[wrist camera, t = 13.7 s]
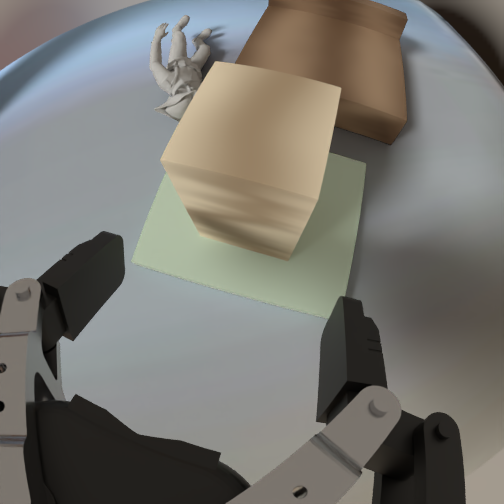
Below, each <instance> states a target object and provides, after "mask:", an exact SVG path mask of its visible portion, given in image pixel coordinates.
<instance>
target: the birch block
mask: <svg viewBox="0 0 504 504" xmlns="http://www.w3.org/2000/svg"><path fill="white" fill-rule="evenodd" d="M340 93H341V88H340V87H337V86H334V85H330V84H327V83H323V82H320V81H316V80H312V79H308V78H304V77H300V76H296V75H292V74H287V73H283V72H278V71H273V70H268V69H263V68H258V67H252V66H246V65H240V64H233V63H226V62H218V61H215V63H214V64H213V66H212V67H211V69H210V70H209V72H208V74H207V75H206V77H205V79H204V80H203V82H202V84H201V85H200V87H199V89H198V90H197V92H196V94H195V95H194V97H193V99H192V101H191V102H190V104H189V106H188V108H187V109H186V111H185V113H184V115H183V117H182V118H181V120H180V122H179V124H178V126H177V128H176V130H175V131H174V133H173V135H172V137H171V139H170V141H169V143H168V145H167V147H166V149H165V151H164V153H163V155H162V157H161V159H160V161H161V163H162V165H163V166H164V168H165V170H166V172H167V174H168V176H169V178H170V180H171V182H172V184H173V186H174V188H175V189H176V191H177V193H178V195H179V197H180V199H181V201H182V203H183V205H184V206H185V208H186V210H187V212H188V214H189V216H190V218H191V219H192V221H193V223H194V225H195V227H196V229H197V231H198V232H199V234H200V236H202V237H206V238H209V239H213V240H216V241H220V242H223V243H227V244H230V245H233V246H237V247H240V248H244V249H247V250H251V251H254V252H258V253H261V254H265V255H268V256H271V257H275V258H278V259H282V260H285V261H288V260H289V258H290V256H291V254H292V252H293V250H294V248H295V246H296V244H297V242H298V240H299V238H300V236H301V234H302V232H303V230H304V228H305V226H306V224H307V222H308V220H309V218H310V216H311V214H312V212H313V210H314V208H315V205H316V203H317V201H318V199H319V194H320V190H321V186H322V181H323V177H324V172H325V168H326V163H327V158H328V154H329V149H330V144H331V139H332V135H333V130H334V125H335V119H336V114H337V109H338V104H339V98H340Z"/></svg>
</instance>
